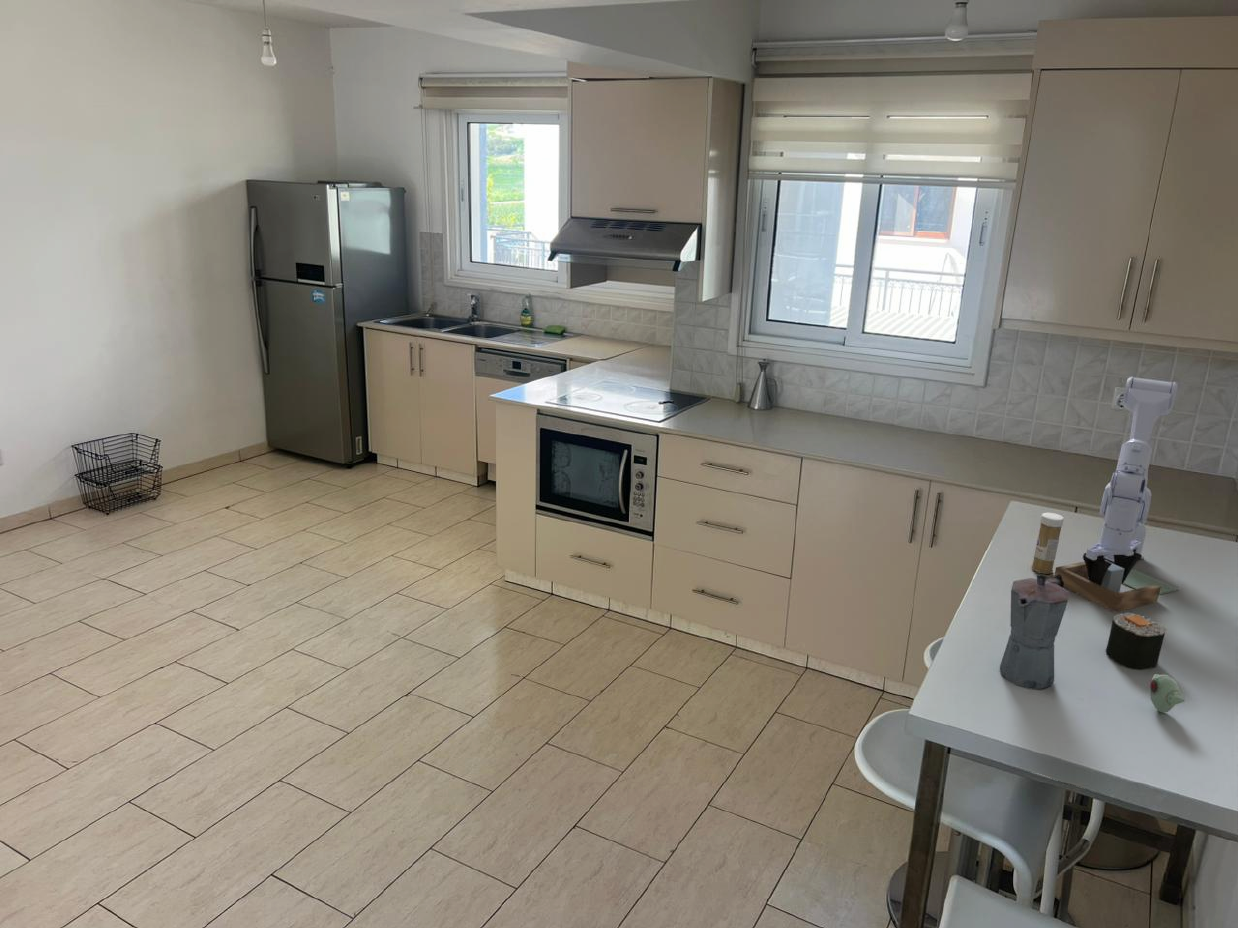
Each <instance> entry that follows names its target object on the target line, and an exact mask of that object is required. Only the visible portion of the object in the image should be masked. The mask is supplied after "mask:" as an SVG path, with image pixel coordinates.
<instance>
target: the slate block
mask: <svg viewBox="0 0 1238 928" xmlns="http://www.w3.org/2000/svg"><path fill="white" fill-rule="evenodd" d="M1108 562H1109V563H1111V564H1112V565H1111V566H1110V567H1109V568H1108V570H1107V571H1106V573H1105V575H1104V578H1103V581H1102V584H1101V586H1103V587H1105V588H1107V589H1109V590H1111V591H1113V592H1115V593H1121V592H1120V591H1121V588H1122V584H1121V583H1122V578H1123V574H1124V568H1122V567H1119V566H1117V565H1115V564H1114V562H1113V563H1112V562H1110V561H1108Z"/></svg>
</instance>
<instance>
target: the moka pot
mask: <svg viewBox="0 0 1238 928" xmlns="http://www.w3.org/2000/svg"><path fill="white" fill-rule="evenodd" d="M1063 586H1064V582H1063V581H1062V577H1061V575H1060V574H1058V575H1057V576H1055V578H1054V577H1050V578H1047V576H1046V575H1045V574H1038V575H1036V578H1034V577H1029V578H1024V579H1016V580H1014V581H1013V582H1012V586H1011V589H1010V628H1011V629H1010V634H1009V637H1008V640H1007V643H1006V646H1005V650H1004V652H1003V655H1002V658H1001V662H1000V665H999V672H1000V675H1001V677H1003V678H1004V679H1005V680H1006V681H1008V682H1009V683H1011V684H1013V685H1015V686H1019V687H1021V688H1025V689H1029V690H1030V689H1031V690H1032V689H1033V690H1040V689H1043V690H1044V689H1046V688H1049V687H1050V686H1051V685H1052V684H1053V683H1054V682H1055V641H1056V637H1057V635H1058V634H1059V633H1058V632H1059V630H1060V627H1061V623H1062V620H1063V617H1064V614H1065V611H1066V609H1067V605H1068V602H1069V593H1070V591H1069V590H1068V589H1067V588H1065V587H1063Z"/></svg>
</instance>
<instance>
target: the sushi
mask: <svg viewBox="0 0 1238 928" xmlns="http://www.w3.org/2000/svg"><path fill="white" fill-rule="evenodd" d="M1151 620H1152V619H1151V618H1145V616H1144V615H1142V616H1141V615H1140V614H1138V613H1137V614H1135V613H1133V612H1125V613H1118V614H1116V615H1115V616H1113V617H1112V622H1111V626H1110V632H1109V637H1108V640H1107V644H1106V649H1105V653H1106V656H1108V657H1109V658H1110V659H1112V660H1113V661H1114V662H1115V663H1117V664H1118V665H1120V666H1123V667H1125V668H1129V669H1131V670H1132V669H1133V670H1147V669H1148V670H1149V669H1153V668H1156V667H1157V666H1158V662H1159V658H1160V655H1161V650H1162V646H1163V644H1164V643H1163V642H1164V639H1165V634H1166V630H1167V628H1166V627H1165V626H1164V625H1161V622H1156V621H1151Z"/></svg>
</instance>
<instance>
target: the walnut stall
mask: <svg viewBox="0 0 1238 928" xmlns="http://www.w3.org/2000/svg"><path fill="white" fill-rule="evenodd" d="M1058 574H1060V575H1061V577H1062V581H1063V582H1064V586H1063V588H1064V589H1066V590H1068V591H1071V590H1072V591H1071V592H1073V591H1074V592H1073V593H1075V592H1076V593H1075V594H1077V593H1078V595H1079V596H1082V597H1083V598H1084V599H1085V598H1086V599H1087V600H1089V601H1092V602H1093V603H1096V604H1097V605H1100V606H1101V607H1104V608H1106V609H1108V610H1110V611H1112V612H1114V613H1116V612H1118V613H1119V612H1121V611H1125V610H1129V609H1134V608H1138V607H1142V606H1145V605H1146V606H1147V605H1150V604H1154V603H1157V602H1158V600H1159V593H1160V589H1161V587H1160V586H1158V585H1151V586H1147V587H1143V588H1139V589H1131V590H1127V591H1126V590H1125V591H1121V592H1119V593H1115V592H1113V591H1111V590H1109V589H1107V588H1105V587H1103V586H1100V585H1098V584H1096V583H1094V582H1092V581H1090V580H1088V571H1087V567H1086V564H1085V561H1084V560H1083V561H1080V562H1075V563H1072V564H1066V565H1065V564H1064V565H1062V566H1061V565H1060V566H1056V567H1055V571H1054V575H1053V578H1055V576H1057V575H1058Z"/></svg>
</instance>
